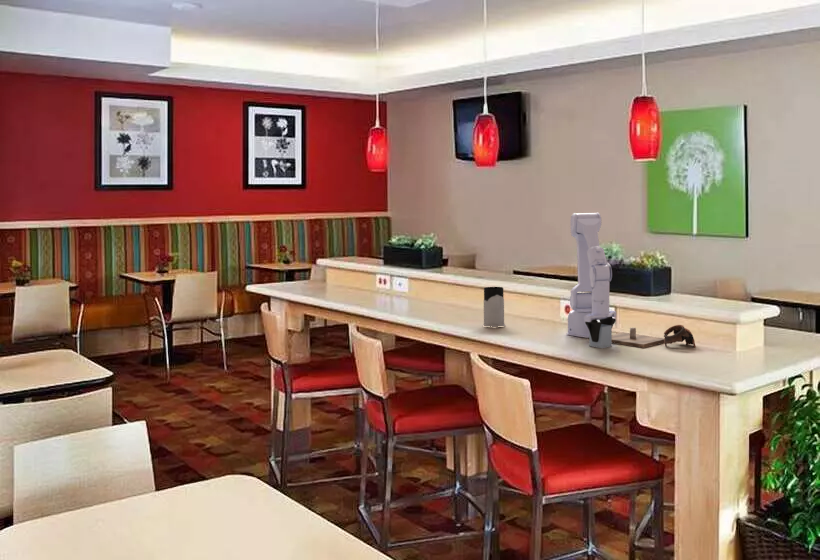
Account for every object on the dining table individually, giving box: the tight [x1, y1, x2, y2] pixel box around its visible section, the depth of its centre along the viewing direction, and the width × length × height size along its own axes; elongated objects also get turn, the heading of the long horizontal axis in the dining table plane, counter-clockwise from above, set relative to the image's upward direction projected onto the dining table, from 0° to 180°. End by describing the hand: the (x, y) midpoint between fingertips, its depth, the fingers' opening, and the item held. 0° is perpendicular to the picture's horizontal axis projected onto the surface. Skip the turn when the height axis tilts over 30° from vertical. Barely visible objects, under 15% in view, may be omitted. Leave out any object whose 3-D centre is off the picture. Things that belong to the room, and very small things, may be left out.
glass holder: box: [483, 286, 506, 327], centre depth 336 cm, size 9×14×15 cm, turn 14°
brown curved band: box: [663, 324, 696, 348], centre depth 288 cm, size 12×9×8 cm
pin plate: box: [612, 327, 665, 349], centre depth 297 cm, size 18×14×5 cm
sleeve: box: [588, 324, 613, 349], centre depth 290 cm, size 5×5×7 cm
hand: (600, 340), depth 291 cm, fingers closed on sleeve, 5 cm apart
